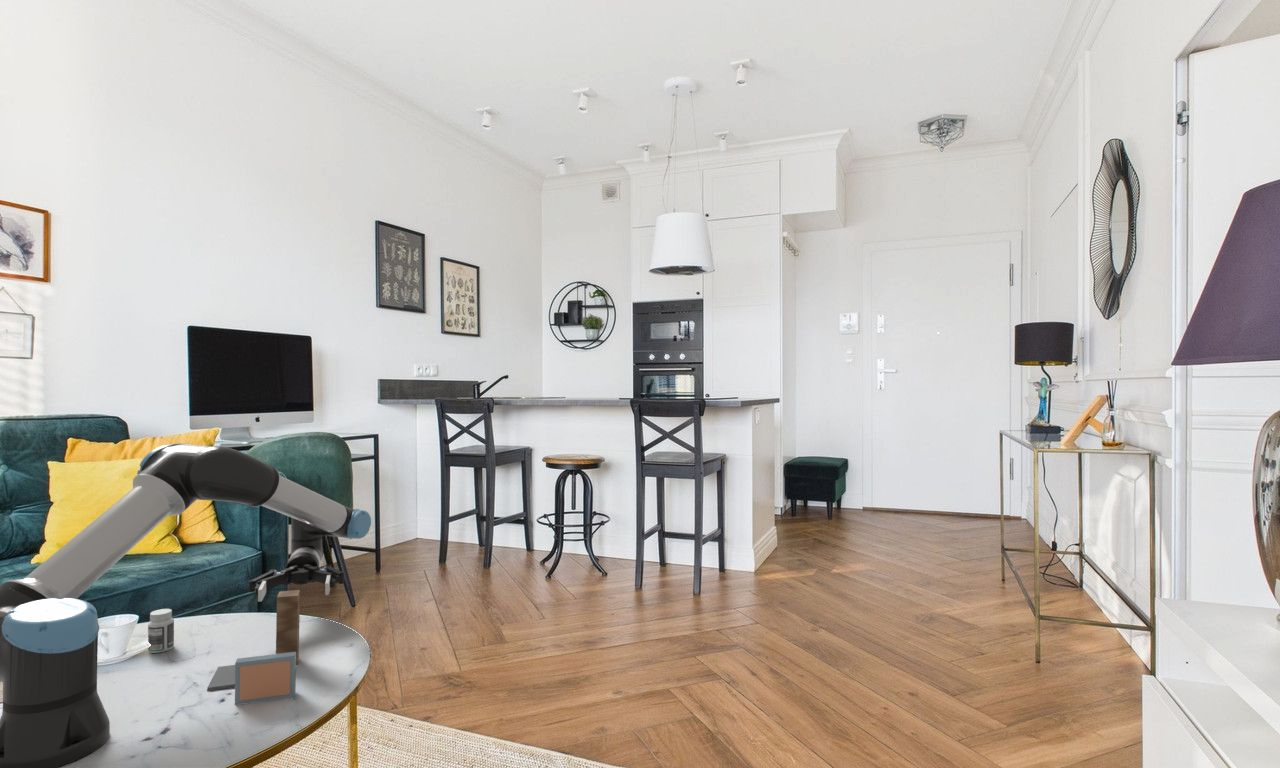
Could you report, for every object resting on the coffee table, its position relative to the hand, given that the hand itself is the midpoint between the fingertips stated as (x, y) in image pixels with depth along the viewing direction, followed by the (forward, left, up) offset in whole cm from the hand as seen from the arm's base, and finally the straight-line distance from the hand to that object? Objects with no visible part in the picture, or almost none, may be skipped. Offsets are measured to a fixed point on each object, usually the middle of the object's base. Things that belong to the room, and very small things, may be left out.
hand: (294, 592), depth 152 cm
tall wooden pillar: (0, -9, -12) cm, 15 cm away
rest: (-8, -13, -12) cm, 20 cm away
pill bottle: (-27, +8, -13) cm, 31 cm away
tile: (-2, -25, -13) cm, 28 cm away
